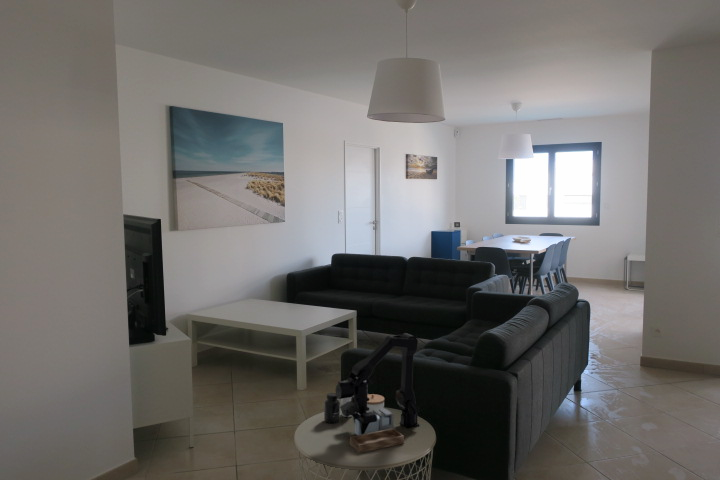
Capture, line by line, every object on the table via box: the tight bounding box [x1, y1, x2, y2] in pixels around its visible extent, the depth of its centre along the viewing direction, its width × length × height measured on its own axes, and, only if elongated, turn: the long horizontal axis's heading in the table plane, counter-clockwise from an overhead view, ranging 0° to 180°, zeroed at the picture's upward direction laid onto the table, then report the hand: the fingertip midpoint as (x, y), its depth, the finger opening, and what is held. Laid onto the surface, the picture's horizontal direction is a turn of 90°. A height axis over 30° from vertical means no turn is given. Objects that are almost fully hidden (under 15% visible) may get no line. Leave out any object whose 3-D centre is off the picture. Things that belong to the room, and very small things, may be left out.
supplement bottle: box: [323, 392, 341, 424], centre depth 239 cm, size 7×7×12 cm
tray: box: [349, 428, 405, 454], centre depth 216 cm, size 20×8×3 cm, turn 117°
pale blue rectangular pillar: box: [354, 413, 389, 436], centre depth 228 cm, size 14×4×6 cm, turn 115°
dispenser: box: [373, 407, 395, 431], centre depth 230 cm, size 6×7×8 cm
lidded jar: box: [366, 393, 385, 415], centre depth 247 cm, size 11×11×9 cm
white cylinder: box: [340, 396, 353, 418], centre depth 246 cm, size 7×7×15 cm
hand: (360, 431), depth 225 cm, fingers closed on pale blue rectangular pillar, 4 cm apart
